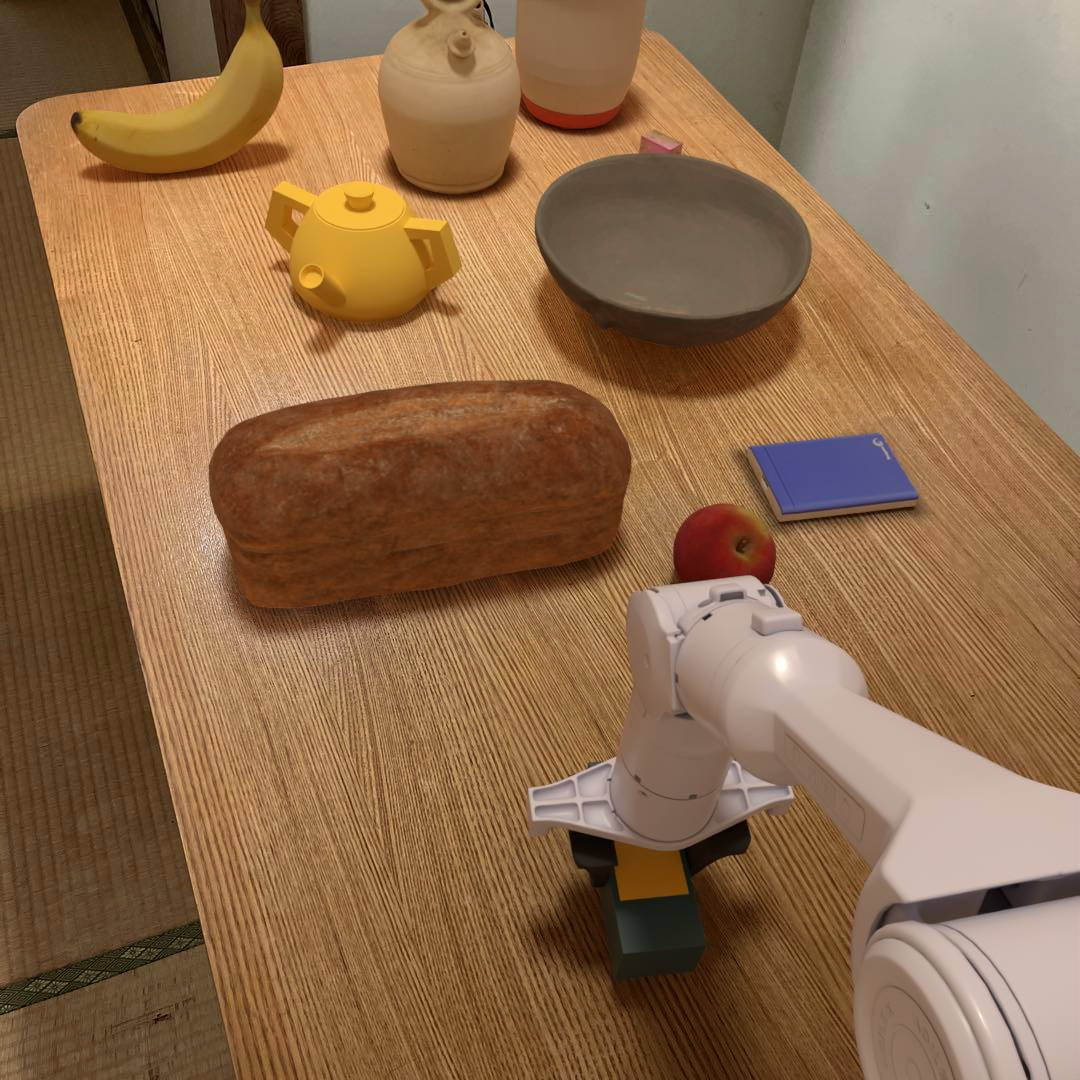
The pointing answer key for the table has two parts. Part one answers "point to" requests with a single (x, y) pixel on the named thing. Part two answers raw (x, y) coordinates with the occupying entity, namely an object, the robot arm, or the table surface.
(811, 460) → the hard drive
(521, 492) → the bread
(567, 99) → the citrus juicer
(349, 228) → the teapot
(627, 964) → the packet
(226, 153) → the banana
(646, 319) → the bowl
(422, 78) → the jug
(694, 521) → the apple
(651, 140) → the perfume bottle
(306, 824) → the table surface
